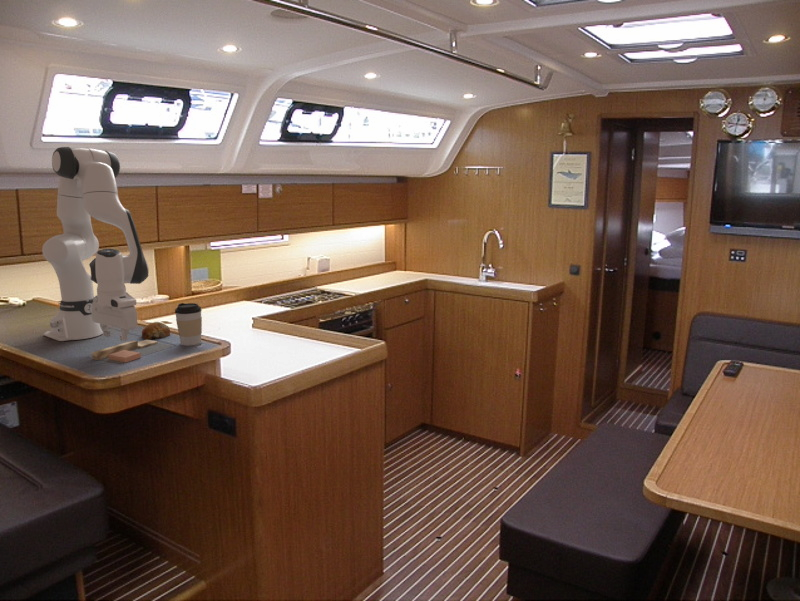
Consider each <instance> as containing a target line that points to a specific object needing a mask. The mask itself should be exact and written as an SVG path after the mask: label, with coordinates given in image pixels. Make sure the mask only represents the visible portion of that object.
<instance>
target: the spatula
mask: <svg viewBox="0 0 800 601" xmlns="http://www.w3.org/2000/svg"><path fill="white" fill-rule="evenodd" d="M158 343H159V342H158V341H157V340H152V339H144V340H140V341H138V340H131V341H125V342H122V343H119V344H116V345H112V346H109V347H106V348H105V347H104V348H101V349H99V350H95V351H92V352H91V356H92V357H93V358H92V360H95V361H98V360H99V359H103V358H106V357H109V354H112V353H115V352H119V351H122V350H127V351H129V350H132V349H136V348H144V347H148V346H151V345H154V344H158ZM99 361H100V360H99Z"/></svg>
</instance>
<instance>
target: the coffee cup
mask: <svg viewBox="0 0 800 601" xmlns="http://www.w3.org/2000/svg"><path fill="white" fill-rule="evenodd" d="M202 310H203V309H202V307H201V306H200V305H199V304H198V303H194V302H191V303H189V302H188V303H187V302H186V303H185V302H182V303H181V302H180V303H178V305H177V307H176V308H175V309H174V314H175V318H176V319H175V320H176V325H177V326H176V327H177V332H178V336H179V342H180V345H181V346H191V347H193V348H198V347H200V346H202V332H203V331H202V330H203V328H202V327H203V325H202V324H203V320H202Z"/></svg>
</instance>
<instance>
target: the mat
mask: <svg viewBox="0 0 800 601" xmlns="http://www.w3.org/2000/svg"><path fill="white" fill-rule="evenodd" d="M176 346H177V345H175V344H170V343H164V342H158V344H154V345H151V346H148V347H144V348H136V349H132V350H129V351H133V352H138V353H141V358H142V357H145V356H148V355H151V354H155V353H157V352H161V351H164V350H168V349H170V348H172V347H176ZM89 358H90V359H93V357H92V355H91V356H90V355H89V356H88V359H89ZM99 361H105V362H109V363H115V364H118V365H119V364H122V363H124V362H120V361H115V360H110V359H109V357H106V358H103V359H99Z"/></svg>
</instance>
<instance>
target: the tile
mask: <svg viewBox="0 0 800 601" xmlns="http://www.w3.org/2000/svg"><path fill="white" fill-rule="evenodd" d="M140 358H142V357H141V353H138V352H133V351H127V350H122V351H119V352H115V353H112V354H109V359H110V360H115V361H120V362H123V363H128V362H132V361H135V360H138V359H140Z"/></svg>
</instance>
